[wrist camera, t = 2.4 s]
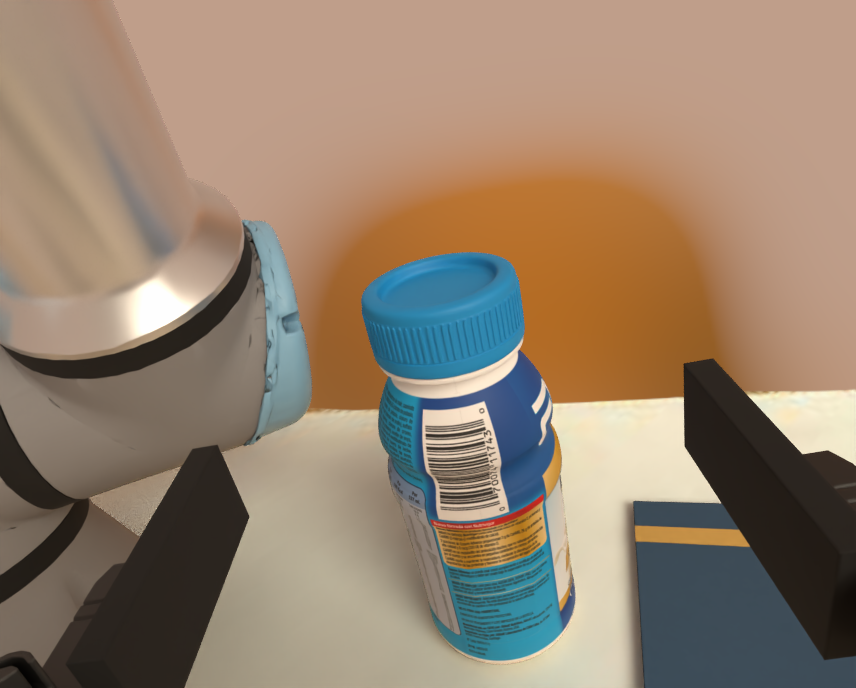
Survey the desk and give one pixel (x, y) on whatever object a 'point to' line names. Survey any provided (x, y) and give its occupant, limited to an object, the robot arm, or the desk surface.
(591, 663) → the desk surface
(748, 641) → the tea towel
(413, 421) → the beverage bottle
